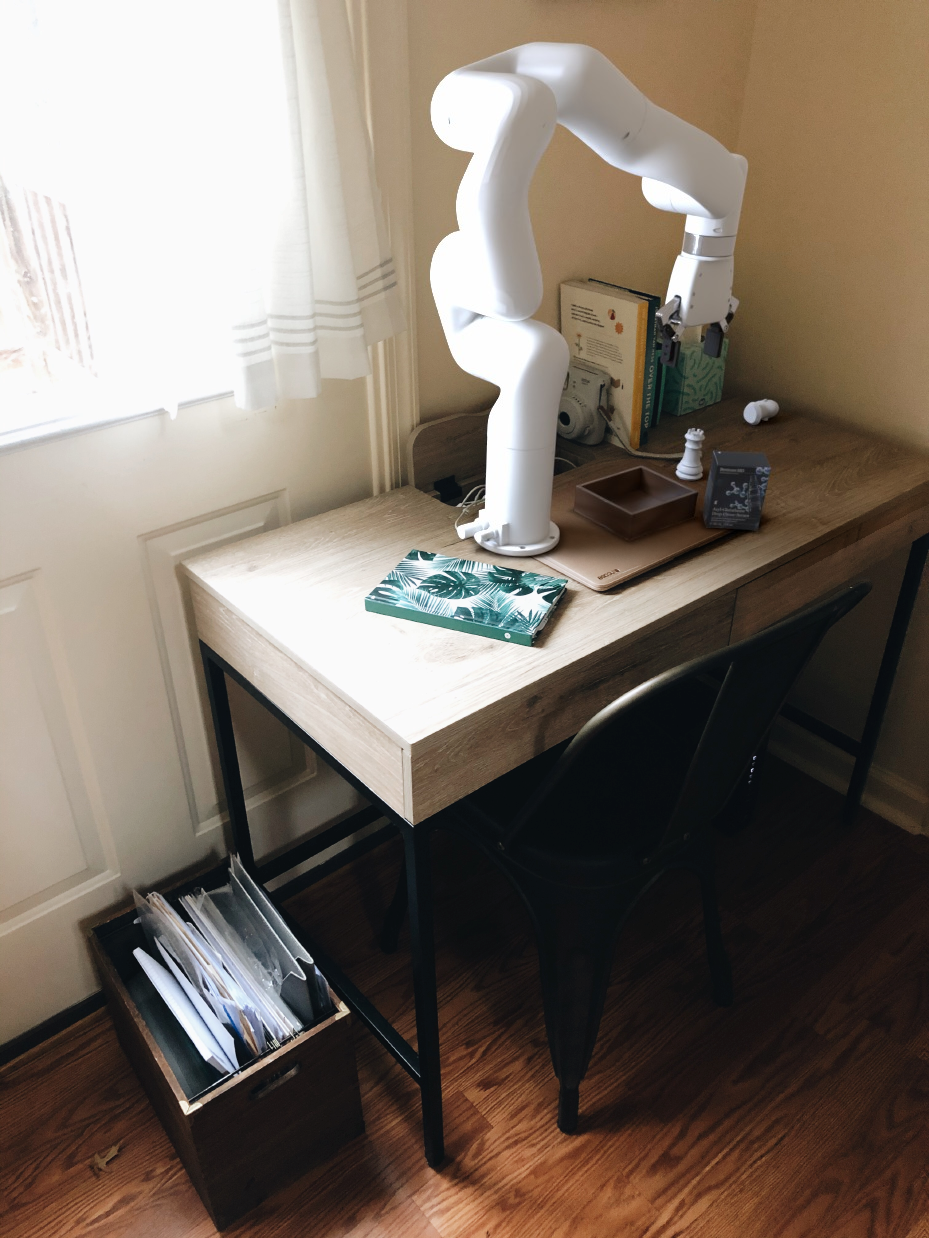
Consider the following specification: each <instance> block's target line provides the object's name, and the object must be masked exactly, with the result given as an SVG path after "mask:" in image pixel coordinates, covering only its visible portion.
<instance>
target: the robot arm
mask: <svg viewBox="0 0 929 1238" xmlns="http://www.w3.org/2000/svg"><path fill="white" fill-rule="evenodd" d="M431 99H432V100H431V103H430V116H431V123H432V128H433V129H434V132H435V133H436V135H437V136H438V137H439V139H440V140H441V141H442V142H444V143H445V144H446V145H447V146H449V147H451V148H453V149H455V150H459V151H462V152H469V153H474V154H473V156H472V158H471V160H470V162H469V164H468V166H467V169H466V171H465V173H464V175H463V178H462V180H461V182H460V185H459V188H458V191H457V196H456V217H457V223H458V227H459V230H457V231H453V232H452V233H449V235H447V236H446V237H444V238H443V239H442V240H441V242H440V243H438V245H437V247H436V249H435V252H434V253H433V256H432V261H431V265H430V285H431V291H432V294H433V298H434V302H435V306H436V308H437V311H438V315H439V318H440V321H441V322H440V323H441V325H442V328H443V331H444V335H445V338H446V341H447V344H448V347H449V349H450V353H451V355H452V357H453V359H454V361H455V362H456V364H457V365H458V366H459V367H460V368H461V369H462V370H463V371H464V372H466V373H468V374H470V375H472V376H474V377H476V378H479V379H482V380H484V381H486V382H489V383H491V384H493V385H495V386H497V387H499V388H500V394H499V397H498V399H497V400H496V402H495V403H494V405H493V406H492V408H491V411H490V413H489V416H488V422H487V439H486V440H487V442H486V443H487V445H486V470H485V471H486V473H485V475H486V477H485V500H484V501H485V505H484V508H483V509H480V510H478V517H477V518H475V519H474V521H473V522H468V523H465V524H461V525H459V526H458V527H457V529H456V531H457V536H458V537H459V538H460V539H462V540H465V539H467V538H470V537H473V538H474V540H475V541H476V543H477V544H479V545H480V546H481V547H482V548H484V549H486V550H488V551H489V552H492V553H495V554H499V555H504V556H510V557H529V556H530V557H531V556H536V555H540V554H544V553H546V552H548V551H551V550H552V549H553V548H554V547H556V546H557V545H558V543H559V541H560V529H559V527H558V525H557V524H556V523H555V522H553V521H552V520H551V511H552V497H553V485H554V470H555V458H556V457H555V456H556V443H557V430H558V429H557V428H558V417H559V410H560V403H561V398H562V394H563V389H564V387H565V382H566V379H567V376H568V371H569V367H570V361H571V360H570V359H571V355H570V349H569V345H568V342H567V340H566V339H565V337H564V336H563V335H562V333H560V332H559V331H558V330H557V329H555V328H554V327H553V326H551V325H549V324H547V323H545V322H543V321H540V320H537V319H534V318H530V317H532V316H533V315H535V314H536V313H537V311H538V309H539V308H540V306H541V304H542V301H543V296H544V280H543V273H542V269H541V263H540V259H539V255H538V254H539V253H538V250H537V246H536V240H535V236H534V230H533V225H532V221H531V215H530V210H529V209H530V208H529V192H530V186H531V183H532V180H533V177H534V175H535V172H536V170H537V167H538V165H539V163H540V161H541V159H542V157H543V156H544V154H545V153H546V150H548V149H547V148H548V147H549V145H550V143H551V141H552V139H553V136H554V134H555V130H556V128H557V124H558V125H561V126H563V127H564V128H566V129H567V130H569V131H570V132H571V133H572V134H573V135H574V136H576V137H577V138H578V139H580V140H581V141H582V142H583V143H584V144H586V146H587V147H589V148H590V149H592V151H593V152H595V153H596V154H597V155H598V156H599V157H601V159H603V160H604V161H605V162H606V163H608V164H609V165H611V166H612V167H615V168H617V169H619V170H621V171H624V172H625V173H629V174H631V175H634V176H638V177H642V179H641V190H642V194H643V196H644V197H645V199H646V202H648V204H650V205H651V206H653V207H654V208H656V209H658V210H662V211H665V212H669V213H676V214H679V215H681V214H682V215H683V214H684V215H686V219H685V226H684V232H683V233H684V234H683V240H682V246H681V247H682V248H681V253H680V254H678V255H677V258H676V260H675V263H674V266H673V269H672V271H671V276H670V280H669V284H668V289H667V293H666V298H665V304H664V305H663V306H662V307H660V309H658V310H657V311H656V312H655V319H656V324H657V330H658V331H659V333H660V337H661V338H662V345H661V351H660V358H659V360H660V361H659V363H660V364H662V365H664V366H668V367H671V368H677V367H678V366H679V359H680V352H681V346H682V341H681V340H679V339H680V338H681V336H682V335H683V333H684V332H685V330H686V329H687V328H693V327H694V328H695V327H700V326H705V325H709V327H707V328H706V331H705V337H704V342H703V347H702V348H703V349H702V353H703V355H705V356H708V357H712V358H714V359H720V358H721V355H722V350H723V344H724V339H725V333H727V332H728V330H729V325H730V323H731V322H732V321H733V319H734V317H735V316H734V315H735V313H736V311H737V308H738V307H739V305H740V300H739V299H738V298H736V297H735V296H734V295H732V292H733V284H734V283H733V282H734V272H735V271H734V269H735V268H734V267H735V255H734V252H735V248H736V247H735V246H736V242H737V241H736V240H737V235H738V229H739V225H740V217H741V213H742V207H743V200H744V195H745V189H746V183H747V178H748V173H749V172H748V171H749V163H748V159H747V158H746V157H745V156H743V155H742V154H738V153H732V152H730V151H729V150H728V149H727V148H726V147H725V146H724V145H723V144H722V143H721V142H719V141H718V140H717V139H716V138H714V137H713V136H712V135H710V134H709V133H707V132H706V131H703V130H702V129H700V128H698V127H697V126H695V125H693V124H692V123H689V122H688V121H686V120H684V119H682V118H680V117H679V116H677V115H675V114H674V113H672V112H670V111H668V110H666V109H664V108H662V107H661V106H658V105H657V104H655V103H653V102H652V101H651V100H650V99H649V98H648V97H647V96H646V95H645V94H644V93H643V92H642V91H641V90H639V88H637V86H636V85H634V83H632V81H631V80H630V79H629V78H628V77H627V76H626V75H624V73H622V71H621V70H620V69H619V68H617V67H616V65H615V64H614V63H613V62H611V60H610V59H608V58H607V56H605V55H604V54H603V53H602V52H601V51H599V50H598V49H596V48H594V47H592V46H590V45H588V44H583V43H572V42H571V43H570V42H554V41H553V42H552V41H551V42H550V41H533V42H532V41H531V42H528V43H524V44H522V45H518V46H515V47H512V48H510V49H507V50H504V51H501V52H499V53H496V54H493V55H491V56H489V57H485V58H483V59H480V60H478V61H475V62H472V63H469V64H467V65H464V66H461V67H459V68H457V69H455V70H453V71H451V72H450V73H449V74H447V75H446V76H445V77H444V78H443V79H442V80H441V81H440V82H439V84H438V85H437V87H436V88H435V90H434V93H433V95H432V98H431ZM675 326H676V329H675V330H674V328H675Z"/></svg>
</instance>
